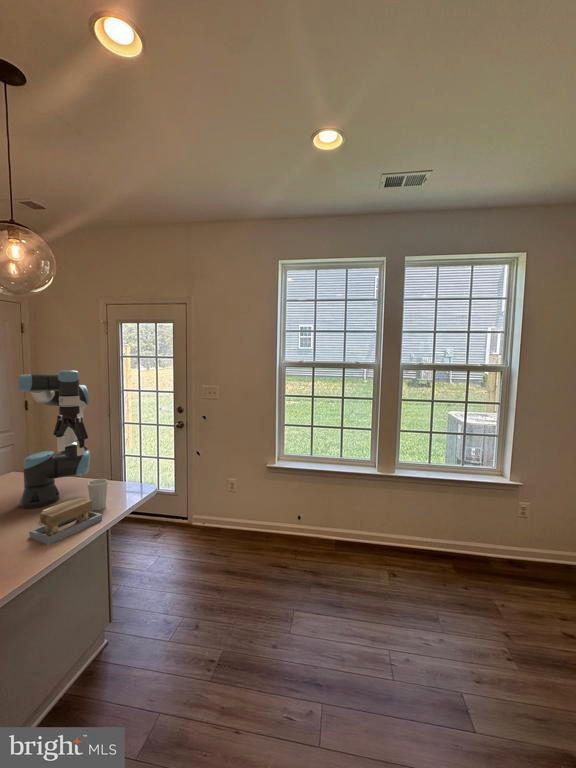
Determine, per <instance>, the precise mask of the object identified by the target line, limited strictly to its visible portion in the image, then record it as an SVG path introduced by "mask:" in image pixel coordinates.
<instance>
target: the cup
mask: <svg viewBox="0 0 576 768" xmlns="http://www.w3.org/2000/svg"><path fill="white" fill-rule="evenodd" d="M108 483H109V482H108V479H106V478H97V479H92V480H90V481H88V482H87V488H88V498H89V500H92V510H91V511H99V510H103V509H105V508H106V507H107V494H108V493H107V492H108Z"/></svg>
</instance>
